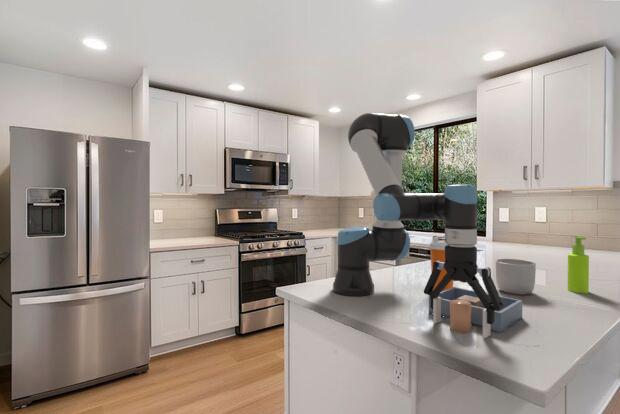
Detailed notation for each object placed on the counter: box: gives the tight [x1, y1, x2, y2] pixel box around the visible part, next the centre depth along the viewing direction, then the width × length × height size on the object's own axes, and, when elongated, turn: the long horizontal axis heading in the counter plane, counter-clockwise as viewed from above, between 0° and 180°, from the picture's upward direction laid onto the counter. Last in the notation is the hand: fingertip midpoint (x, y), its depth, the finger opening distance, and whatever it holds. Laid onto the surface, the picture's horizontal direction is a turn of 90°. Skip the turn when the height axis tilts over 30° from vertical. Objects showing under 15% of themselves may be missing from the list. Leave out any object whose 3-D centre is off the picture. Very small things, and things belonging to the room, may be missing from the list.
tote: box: [428, 286, 523, 334], centre depth 96 cm, size 20×16×5 cm
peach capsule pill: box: [449, 300, 472, 334], centre depth 86 cm, size 5×5×7 cm
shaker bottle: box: [429, 235, 454, 292], centre depth 122 cm, size 9×9×20 cm
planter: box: [495, 258, 537, 295], centre depth 120 cm, size 12×12×11 cm
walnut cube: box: [457, 295, 483, 308], centre depth 93 cm, size 5×5×5 cm
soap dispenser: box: [567, 235, 590, 294], centre depth 119 cm, size 6×7×20 cm
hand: (460, 328), depth 86 cm, fingers open, 12 cm apart
